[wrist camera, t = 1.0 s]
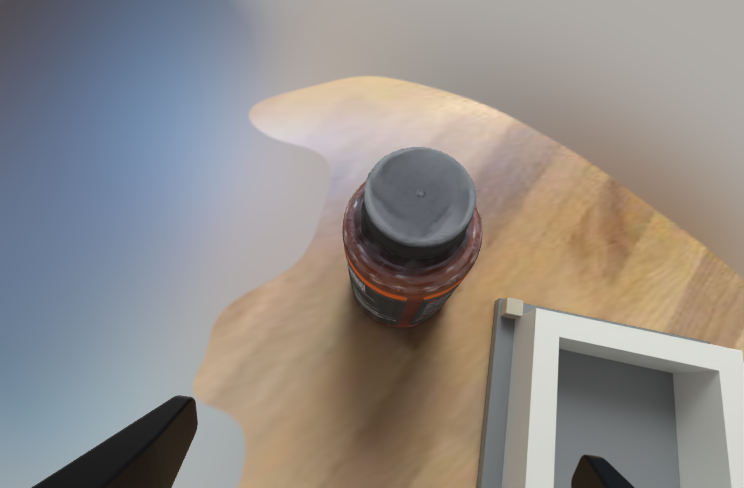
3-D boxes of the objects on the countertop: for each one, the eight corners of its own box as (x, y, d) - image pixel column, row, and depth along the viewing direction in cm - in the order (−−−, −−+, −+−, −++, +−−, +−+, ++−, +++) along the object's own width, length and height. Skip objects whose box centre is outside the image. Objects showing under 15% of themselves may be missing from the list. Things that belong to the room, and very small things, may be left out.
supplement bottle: (459, 258, 24) (529, 157, 14) (426, 346, 22) (478, 306, 12) (374, 223, 25) (378, 102, 15) (334, 305, 23) (306, 234, 13)
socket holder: (721, 595, 18) (806, 644, 15) (472, 532, 19) (495, 564, 16) (698, 343, 23) (760, 334, 19) (495, 301, 23) (517, 285, 20)
